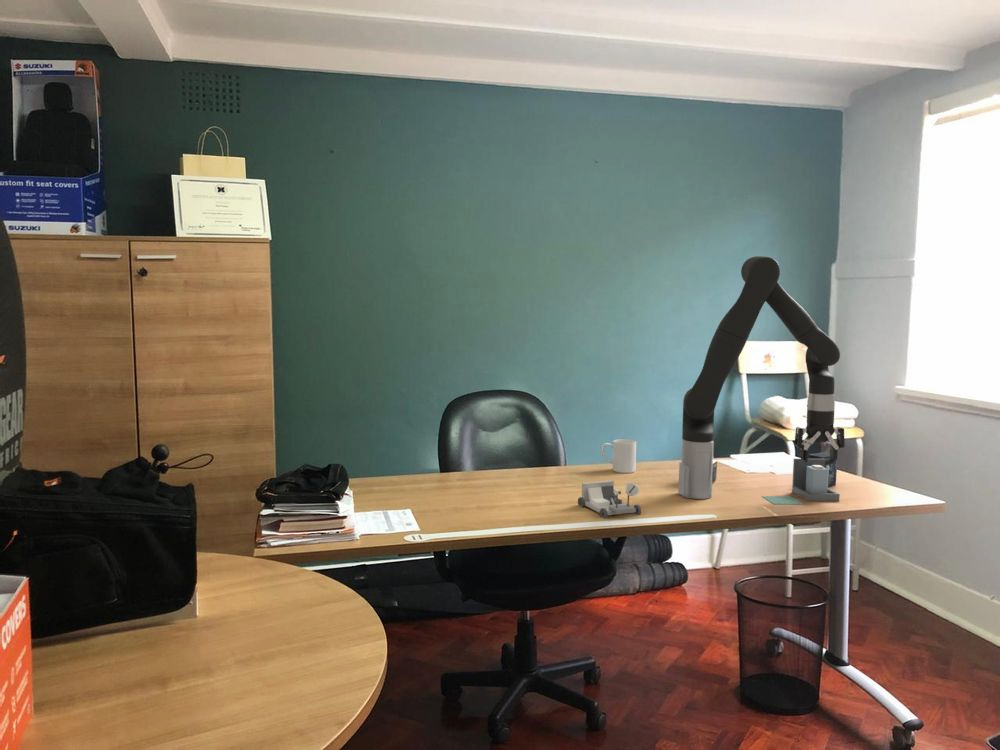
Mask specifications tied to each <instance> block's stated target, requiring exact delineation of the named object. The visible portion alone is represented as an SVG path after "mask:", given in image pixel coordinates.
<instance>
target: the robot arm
mask: <svg viewBox="0 0 1000 750" xmlns="http://www.w3.org/2000/svg"><path fill="white" fill-rule="evenodd" d="M740 274H741V278H742V280H743V282H744V284H743V287H742V290H741V292H740V294H739V296H738V298H737V300H736V301H735V303H734V304H733V305H732V306H731V307H730V309H729V310H728V312H727V313H725V315H724V316H723V318H722V319H721V321H720V323H719V324H718V326H717V328H716V330H715V332H714V334H713V336H712V338H711V341H710V344H709V346H708V348H707V352H706V356H705V359H704V362H703V366H702V368H701V371H700V373H699V376H698V377H697V379H696V380H695V381H694V384H693V386H692V387H691V388H689V389H688V390H687V391H686V392H685V394H684V397H683V403H682V404H683V405H682V428H681V429H682V434H681V435H682V436H681V437H682V438H681V440H682V441H681V461H680V462H679V465H678V494H679V495H681V497H682V498H687V499H696V500H706V499H710V498H712V494H713V493H712V492H713V488H712V487H713V484H712V470H713V460H714V456H713V448H714V447H715V446H714V445H715V442H714V439H715V424H714V423H715V410H716V406H717V404H718V403H717V402H718V400H719V398H720V395H721V392H722V389H723V386H724V384H725V381H726V379H727V378H728V377H729V374H730V373H731V371H732V370H733V368H734V366H735V365H736V363H737V361H738V359H739V357H740V356H741V353H742V352H743V350H744V348H745V346H746V343H747V341H748V340H749V337H750V334H751V332H752V330H753V328H754V326H755V323H756V321H757V319H758V317H759V314H760V312H761V310H762V308H763V306H764V304H765V303H767V305H768V306H769V307H770V308H771V309H772V310H773V312H774V313H775V314H776V315H777V317H778V318H779V319H780V321H781V322H782V323H783V324H784V326H785V327H786V328H787V330H788V331H789V332H790V334H791V335H792V336H793V337H794V338H795V340H796V341H797V342H798V343H800V344H802V345H803V346H806V352H805V364H806V371H807V374H808V375H807V376H808V379H809V381H808V396H807V403H806V408H807V409H806V426H805V427H800V426H797V427H795V433H794V444H793V445H794V447H796V448H799V449H800V458H799V459H801V460H802V461H803V462H807V461H808V459H809V450H808V449H809V448H810V446H812V445H813V444H814V443H827V445H829V447H830V448H829V454H830V461H831V462H835V460H837V461H838V458H837V455H838V450H839V449H841V448H842V449H843V448H845V428H843V427H841V426H836V427H834V423H835V407H836V406H835V405H836V404H835V403H836V402H835V401H836V400H835V377H834V376H833V375H832V374H831V373H830V370H829V367H832V366H835V365H836V364H837V363H838V362H839V360H840V358H841V352H840V348H839V347H838V345H837V343H835V341H834V340H833V339H831V337H829V335H827V334H826V333H825V332H824V331H823V330H821V329H820V328H819V327H818V325H817V324H816V322H815V321H814V320H813V318H812V317H811V316H810V315H809V313H808V312H807V311H806V310H805V309H804V307H803V306H801V304H799V303H798V302H797V301H796V300H795V299H794V298H793V297H792V296H791V295H790V294H789V293H788V292H787V291H786V290H785V289H784V288H783V286H782V285H781V284H780V282H779V279H780V275H781V267H780V264H779V262H778V261H777V260H776V259H775V258H772V257H770V256H761V255H759V256H751V257H750V258H747V259H746V260H745V261H744V262H743V263H742V265H741V270H740ZM805 433H806V437H805V438H804V439H803V437H804V435H805ZM834 434H835V435H836V441H835V439H834V438H833V437H832V436H833V435H834Z"/></svg>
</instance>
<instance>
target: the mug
mask: <svg viewBox="0 0 1000 750" xmlns="http://www.w3.org/2000/svg"><path fill="white" fill-rule="evenodd" d="M612 442H613V443H610V442H605V443H603V444H601V445H602V446H601V454H602V456H603V458H604V459H605V460H606V461H607V462H609V463H610V464H612V471H614V472H615V473H622V474H631V473H635V472H636V469H637V466H636V463H637V461H636V460H637V441H636V440H633V439H626V438H623V439H621V438H620V439H613V441H612ZM605 446H610V447H612V460H610V459H609V458H607V456H606V454H605V452H604V447H605Z"/></svg>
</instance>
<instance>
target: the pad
mask: <svg viewBox="0 0 1000 750" xmlns="http://www.w3.org/2000/svg"><path fill="white" fill-rule="evenodd" d="M761 497H762V498H763V499H765V500H766V501H768V502H769V503H771V504H773V505H774V506H775V505H777V506H778V505H782V506H783V505H784V506H785V505H786V506H787V505H788V506H789V505H793V506H794V505H796V506H797V505H800V506H802V505H805V503H803V502H801V501H800V500H799V499H797V498H794V496H791V495H781V496H780V495H779V496H778V495H771V496H770V495H769V496H768V495H762V496H761Z"/></svg>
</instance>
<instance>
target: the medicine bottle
mask: <svg viewBox="0 0 1000 750" xmlns="http://www.w3.org/2000/svg"><path fill="white" fill-rule="evenodd" d="M714 453H715V448H714V447H713V457H714V455H715V454H714ZM717 467H718V460H717V459H713V470H712V485H713V484H714V483H715V482H716V481H717V470H718V468H717Z"/></svg>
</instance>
